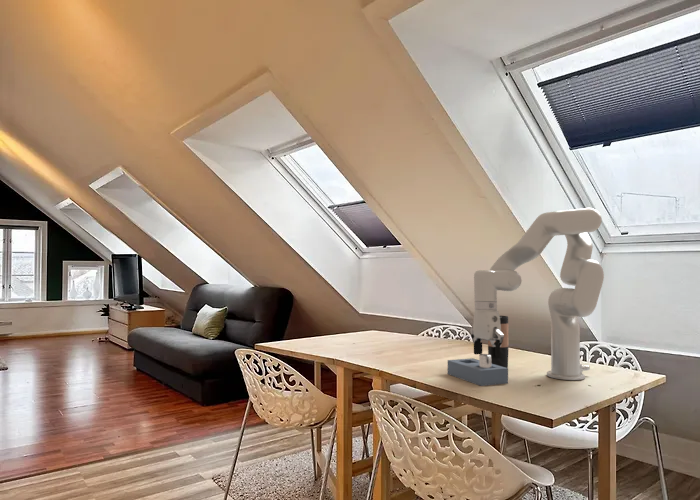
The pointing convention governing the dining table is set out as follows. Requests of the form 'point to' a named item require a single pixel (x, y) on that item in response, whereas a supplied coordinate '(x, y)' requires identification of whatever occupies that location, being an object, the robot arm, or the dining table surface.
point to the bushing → (485, 361)
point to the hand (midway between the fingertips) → (486, 356)
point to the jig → (477, 372)
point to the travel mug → (504, 346)
